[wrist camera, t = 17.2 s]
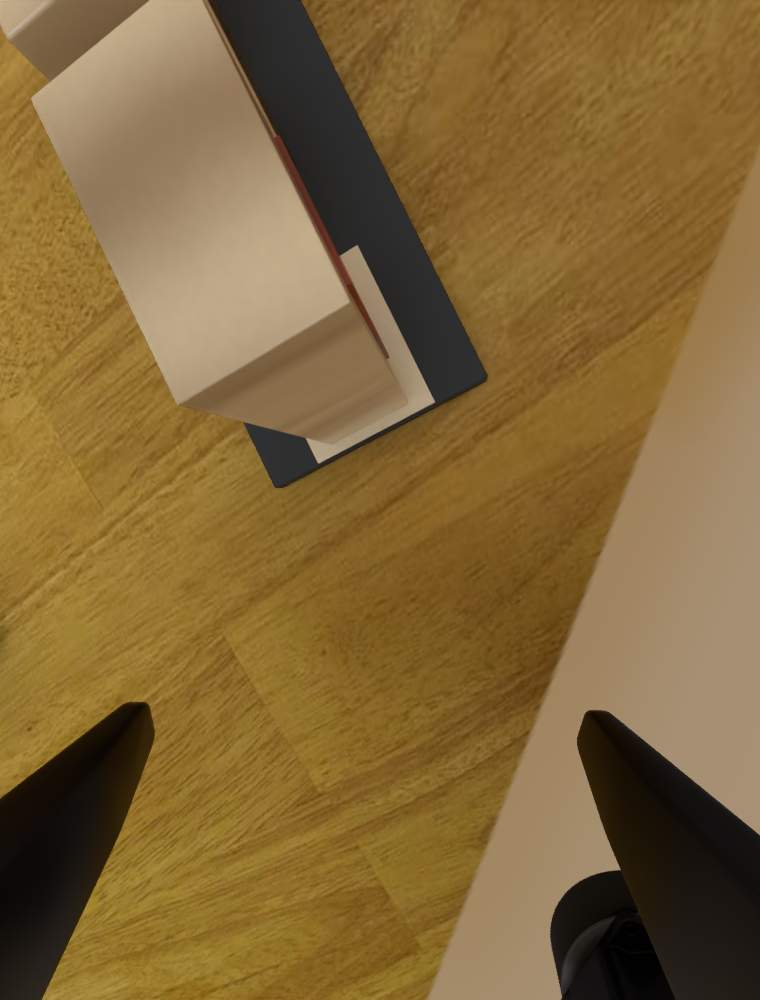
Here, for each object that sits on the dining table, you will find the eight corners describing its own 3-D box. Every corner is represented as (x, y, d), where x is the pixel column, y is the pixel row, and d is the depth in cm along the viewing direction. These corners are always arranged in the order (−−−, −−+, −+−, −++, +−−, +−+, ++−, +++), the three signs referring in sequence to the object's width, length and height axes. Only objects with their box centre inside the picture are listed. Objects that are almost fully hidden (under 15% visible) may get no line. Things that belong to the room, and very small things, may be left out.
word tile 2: (330, 234, 19) (164, -101, 8) (251, 284, 19) (0, 44, 9) (263, 97, 19) (8, -418, 8) (187, 153, 20) (-140, -248, 9)
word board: (486, 381, 19) (488, 376, 18) (281, 488, 21) (273, 489, 20) (237, -120, 19) (227, -149, 18) (60, 30, 21) (43, 11, 20)
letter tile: (412, 402, 18) (358, 297, 8) (328, 446, 19) (170, 409, 8) (343, 262, 18) (193, -39, 8) (263, 311, 19) (23, 101, 8)
